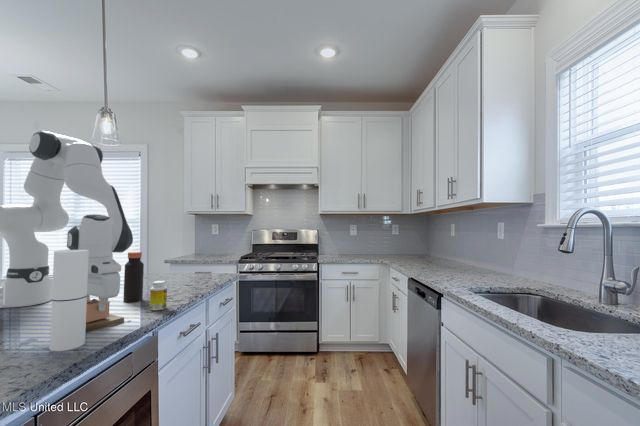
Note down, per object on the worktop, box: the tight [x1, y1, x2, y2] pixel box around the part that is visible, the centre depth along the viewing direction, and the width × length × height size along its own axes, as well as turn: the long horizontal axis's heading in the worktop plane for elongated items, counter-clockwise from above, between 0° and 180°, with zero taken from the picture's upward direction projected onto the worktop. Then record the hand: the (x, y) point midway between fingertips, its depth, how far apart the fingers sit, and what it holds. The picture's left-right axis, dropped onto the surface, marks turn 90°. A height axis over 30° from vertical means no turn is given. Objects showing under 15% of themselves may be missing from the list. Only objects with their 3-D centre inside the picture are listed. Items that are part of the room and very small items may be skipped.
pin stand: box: [85, 298, 125, 334], centre depth 95 cm, size 12×12×8 cm
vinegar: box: [122, 251, 145, 303], centre depth 125 cm, size 7×7×20 cm
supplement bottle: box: [149, 280, 168, 311], centre depth 113 cm, size 6×6×10 cm
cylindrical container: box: [49, 249, 89, 352], centre depth 79 cm, size 7×7×25 cm
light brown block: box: [86, 298, 111, 323], centre depth 95 cm, size 6×6×5 cm
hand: (94, 308), depth 95 cm, fingers closed on light brown block, 6 cm apart
